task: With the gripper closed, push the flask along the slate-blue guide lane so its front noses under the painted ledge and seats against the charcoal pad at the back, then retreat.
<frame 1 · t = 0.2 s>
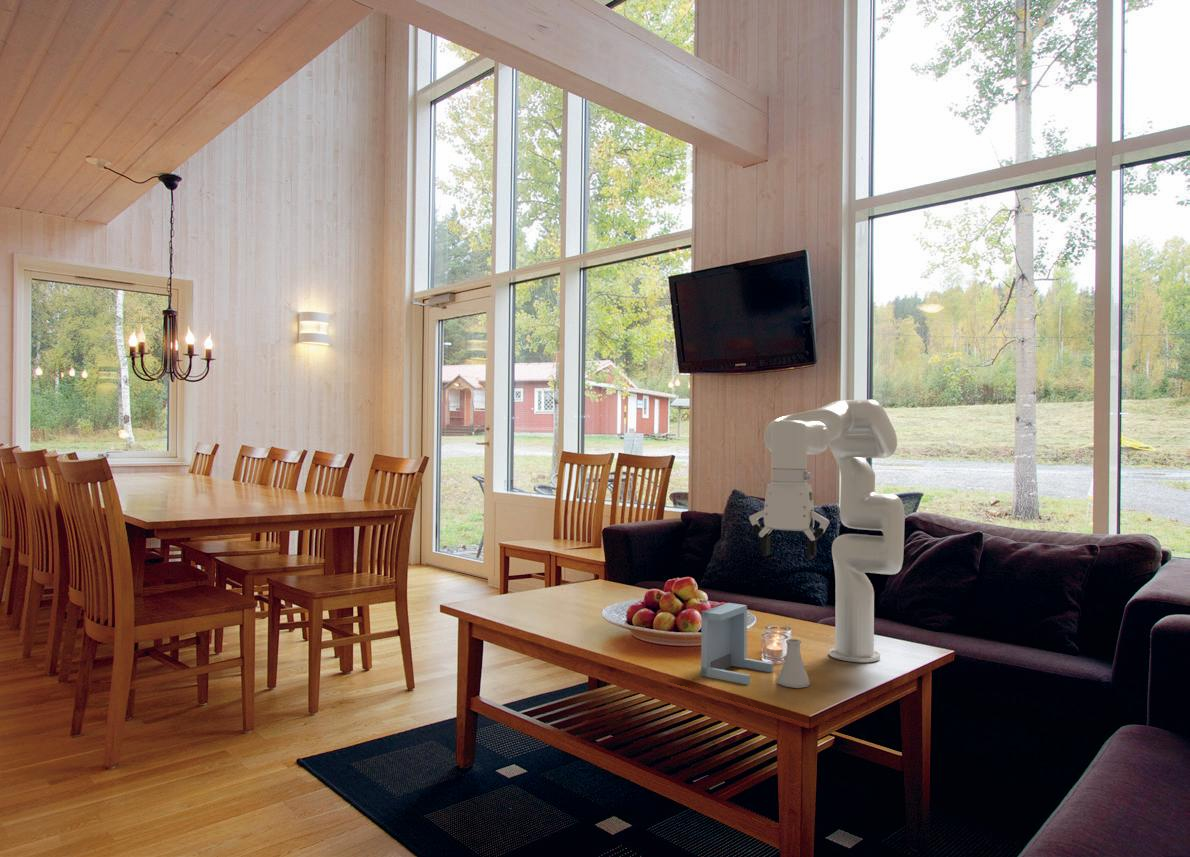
hand: (788, 557, 175), 30 cm above the table, fingers open, 9 cm apart
blue frame: (729, 672, 195), on the table
flask: (793, 685, 185), on the table
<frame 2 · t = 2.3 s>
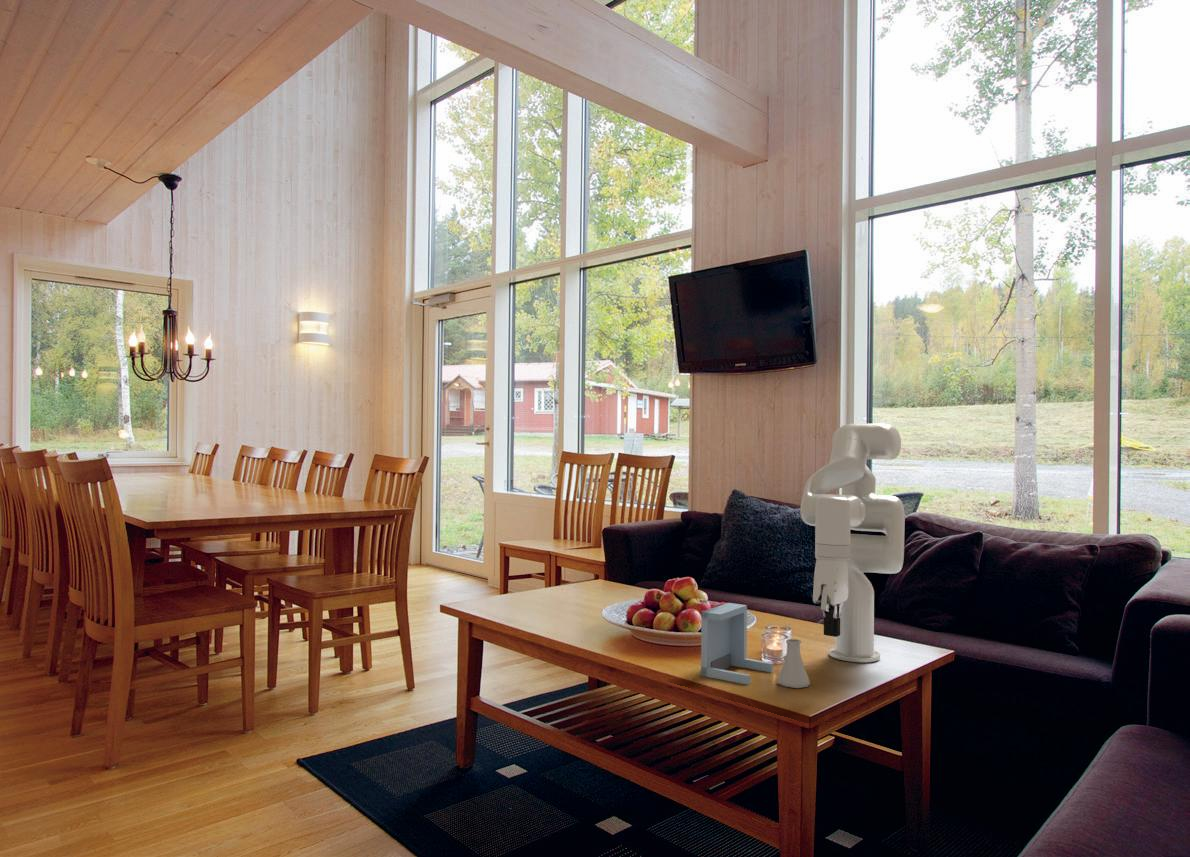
hand: (831, 635, 180), 13 cm above the table, fingers closed
nothing on the table moved.
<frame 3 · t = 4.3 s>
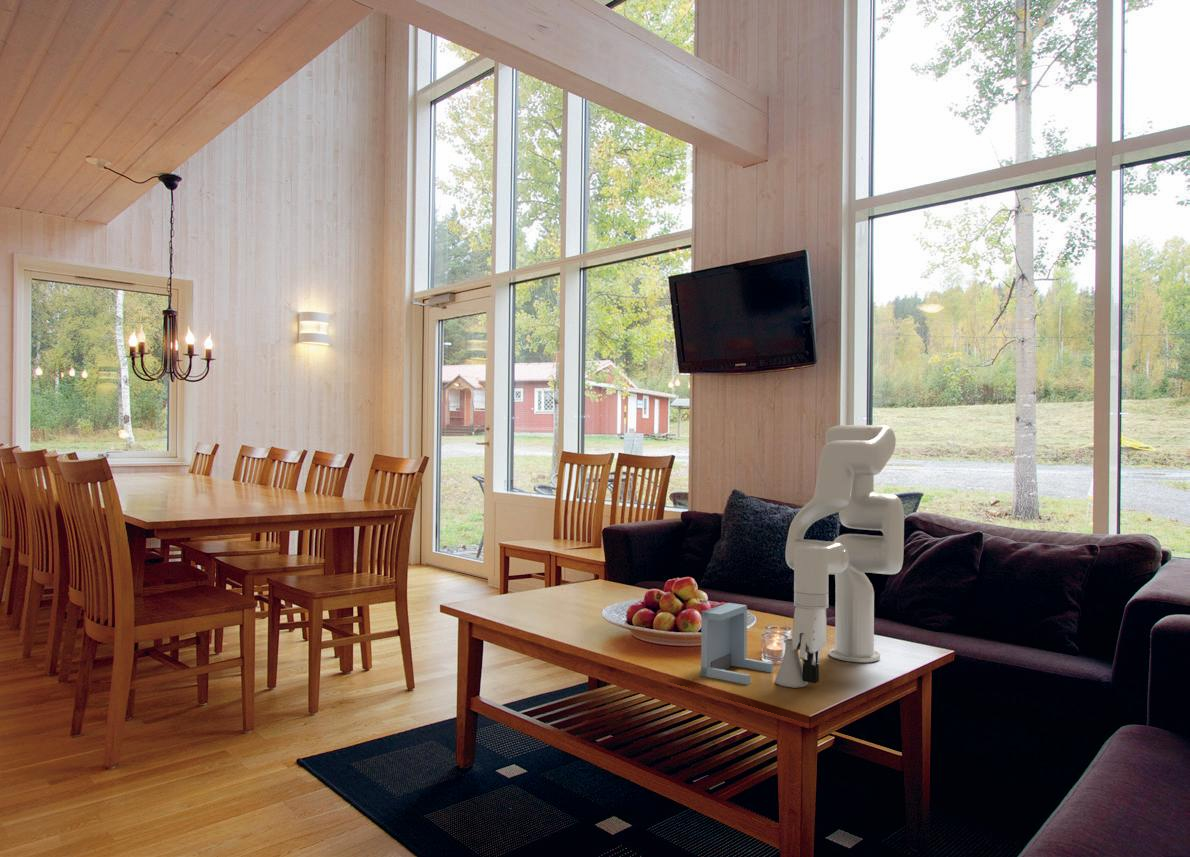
hand: (810, 681, 183), 1 cm above the table, fingers closed
flask: (791, 684, 186), on the table, touching gripper
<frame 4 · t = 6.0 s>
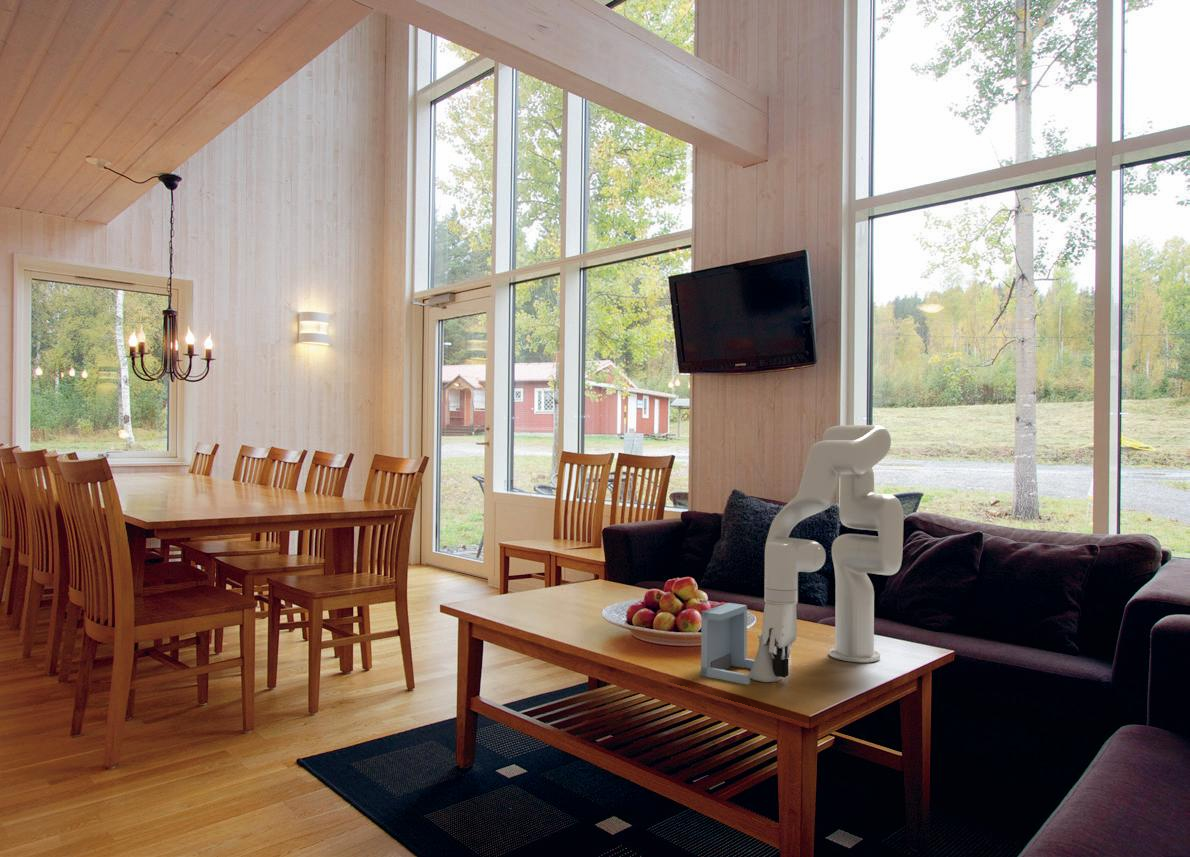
hand: (780, 675, 187), 1 cm above the table, fingers closed
flask: (765, 679, 190), on the table, touching gripper
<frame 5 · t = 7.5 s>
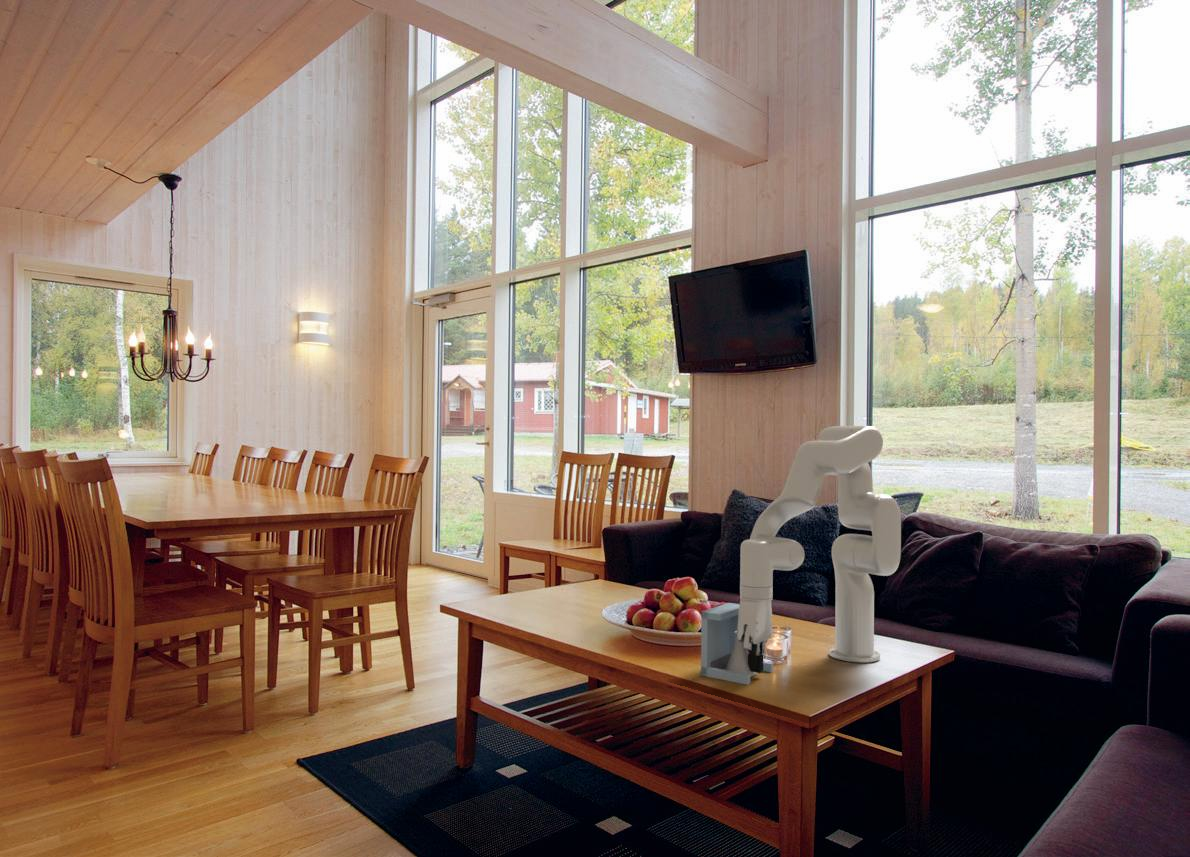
hand: (755, 671, 191), 1 cm above the table, fingers closed
flask: (740, 675, 193), on the table, touching gripper
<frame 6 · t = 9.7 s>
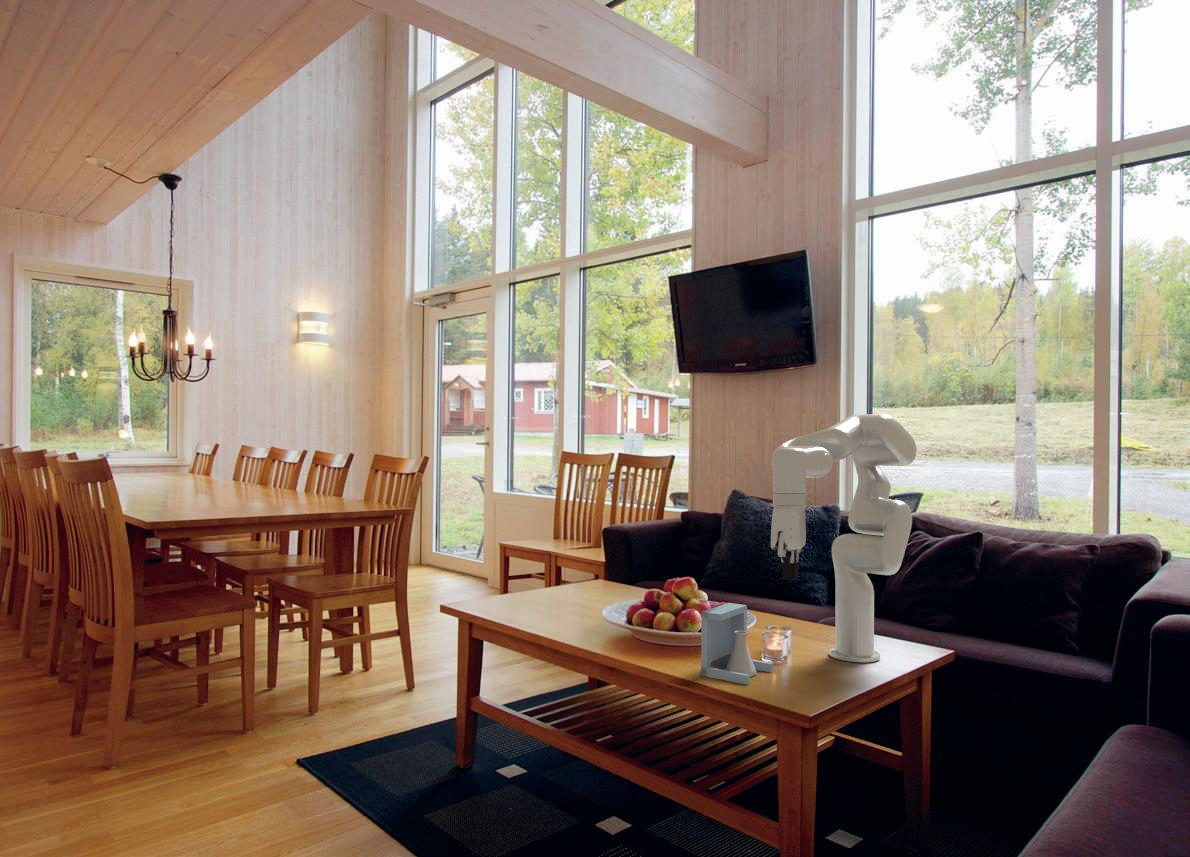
hand: (790, 579, 189), 23 cm above the table, fingers closed
flask: (740, 675, 193), on the table
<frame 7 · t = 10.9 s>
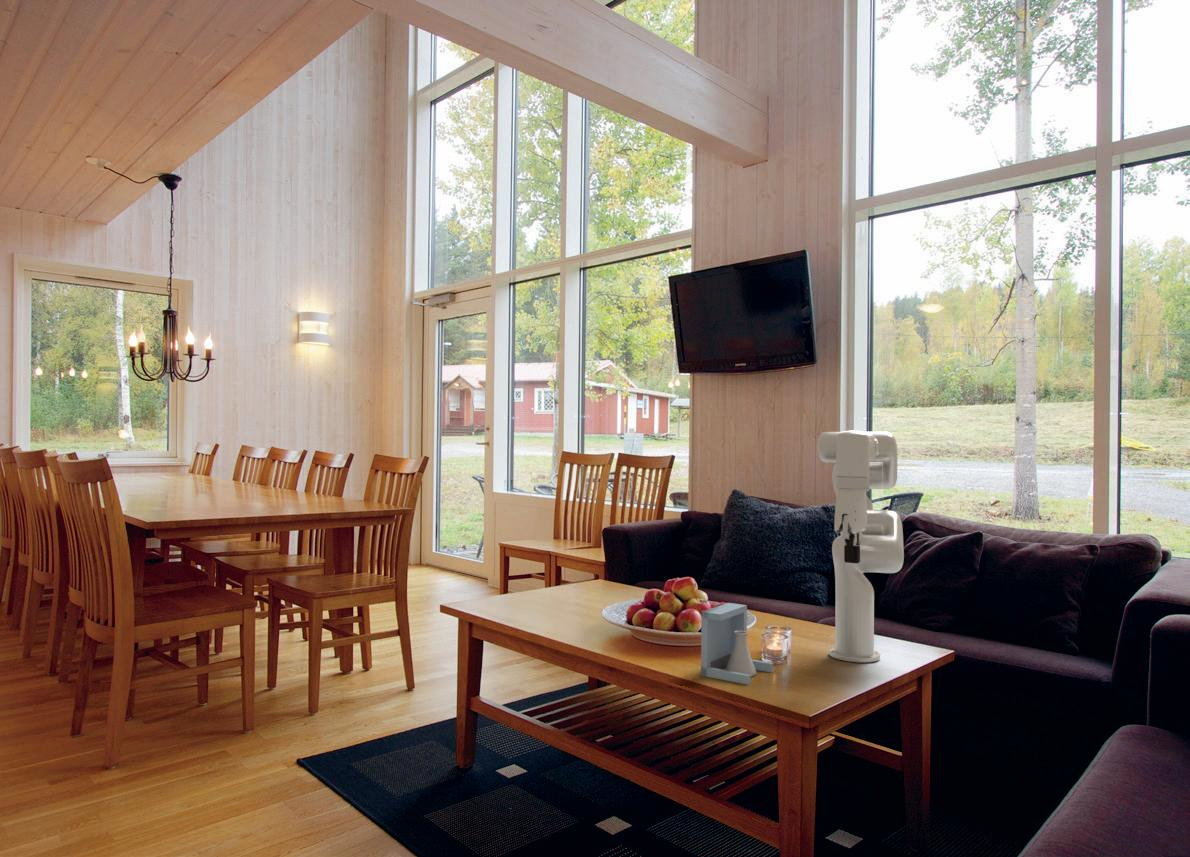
hand: (852, 562, 191), 27 cm above the table, fingers closed
nothing on the table moved.
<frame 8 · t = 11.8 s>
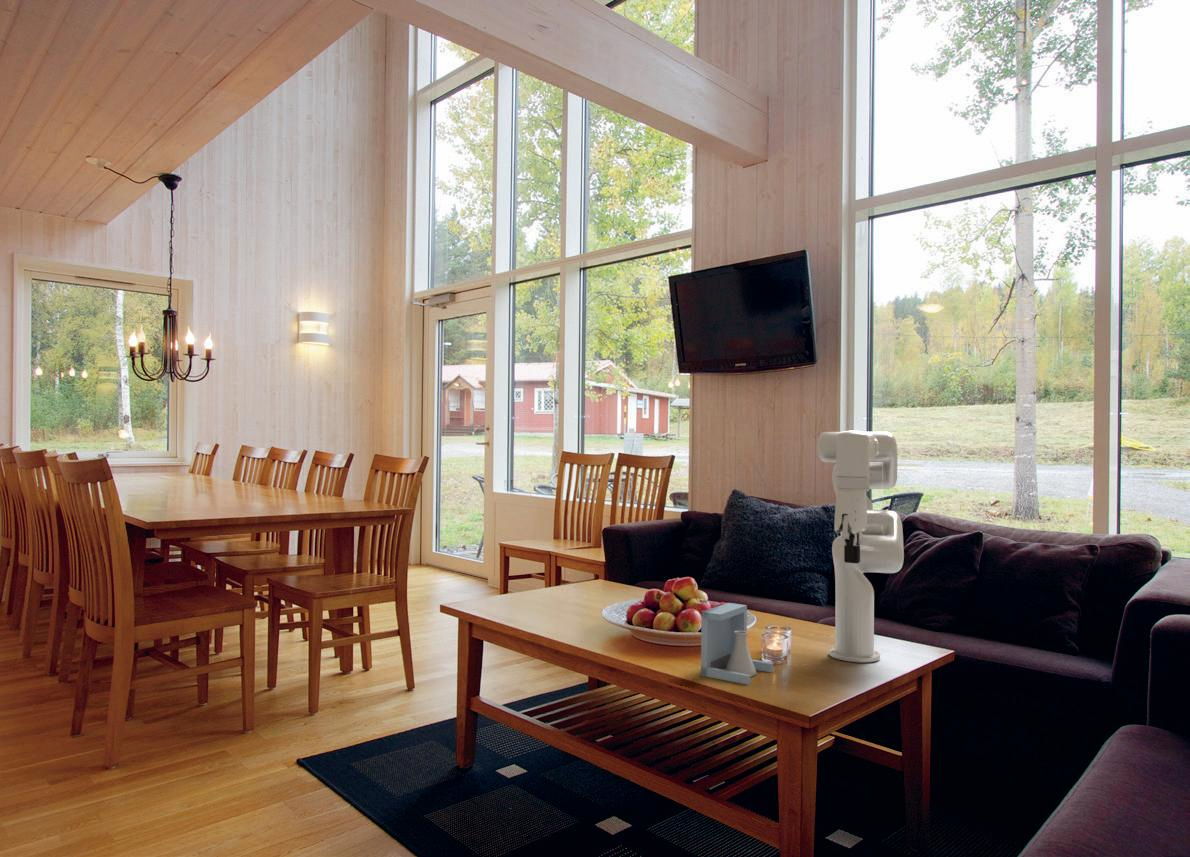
hand: (852, 562, 191), 27 cm above the table, fingers closed
nothing on the table moved.
at the end: flask 1.4 cm from the target spot on the blue frame, point 0.0 cm above the blue frame's base; flask tilted 0° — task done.
